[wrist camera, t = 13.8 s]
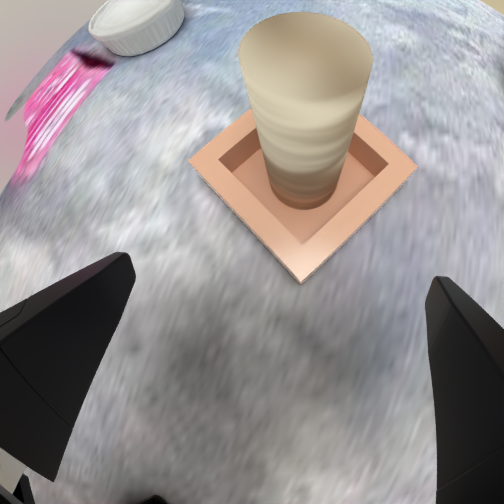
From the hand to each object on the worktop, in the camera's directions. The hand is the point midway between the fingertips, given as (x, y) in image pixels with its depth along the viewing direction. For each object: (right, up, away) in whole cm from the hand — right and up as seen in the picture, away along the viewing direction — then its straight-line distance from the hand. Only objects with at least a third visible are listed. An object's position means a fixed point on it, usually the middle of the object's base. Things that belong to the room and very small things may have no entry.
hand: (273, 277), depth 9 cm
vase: (+3, +6, +14) cm, 15 cm away
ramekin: (-13, +27, +20) cm, 36 cm away
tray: (+3, +6, +14) cm, 16 cm away
